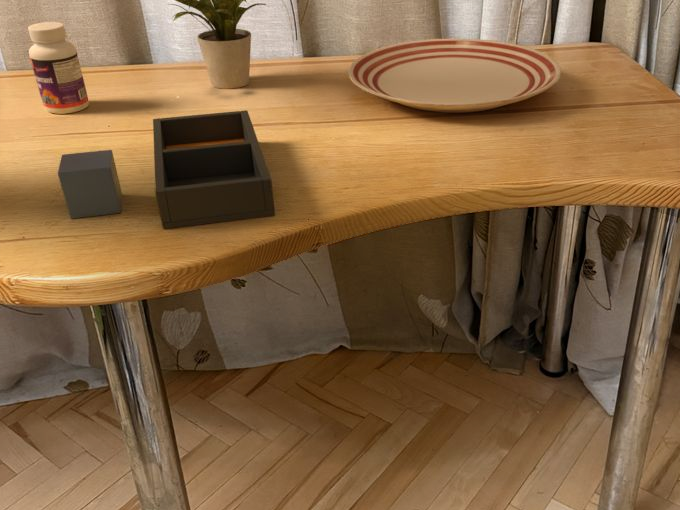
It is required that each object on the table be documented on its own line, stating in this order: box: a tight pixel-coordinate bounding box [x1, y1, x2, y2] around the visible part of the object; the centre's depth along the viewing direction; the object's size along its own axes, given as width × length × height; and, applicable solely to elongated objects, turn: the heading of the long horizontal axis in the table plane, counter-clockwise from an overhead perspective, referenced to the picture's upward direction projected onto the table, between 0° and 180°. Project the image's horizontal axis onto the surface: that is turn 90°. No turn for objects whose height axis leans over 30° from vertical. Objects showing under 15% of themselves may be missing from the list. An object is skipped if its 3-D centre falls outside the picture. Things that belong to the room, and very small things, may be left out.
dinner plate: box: [348, 38, 562, 114], centre depth 97 cm, size 28×27×3 cm
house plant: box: [167, 0, 269, 90], centre depth 98 cm, size 14×14×16 cm
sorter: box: [152, 110, 276, 230], centre depth 74 cm, size 10×19×4 cm, turn 15°
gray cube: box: [57, 149, 123, 220], centre depth 69 cm, size 4×4×4 cm
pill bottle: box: [27, 21, 90, 115], centre depth 91 cm, size 5×5×10 cm
